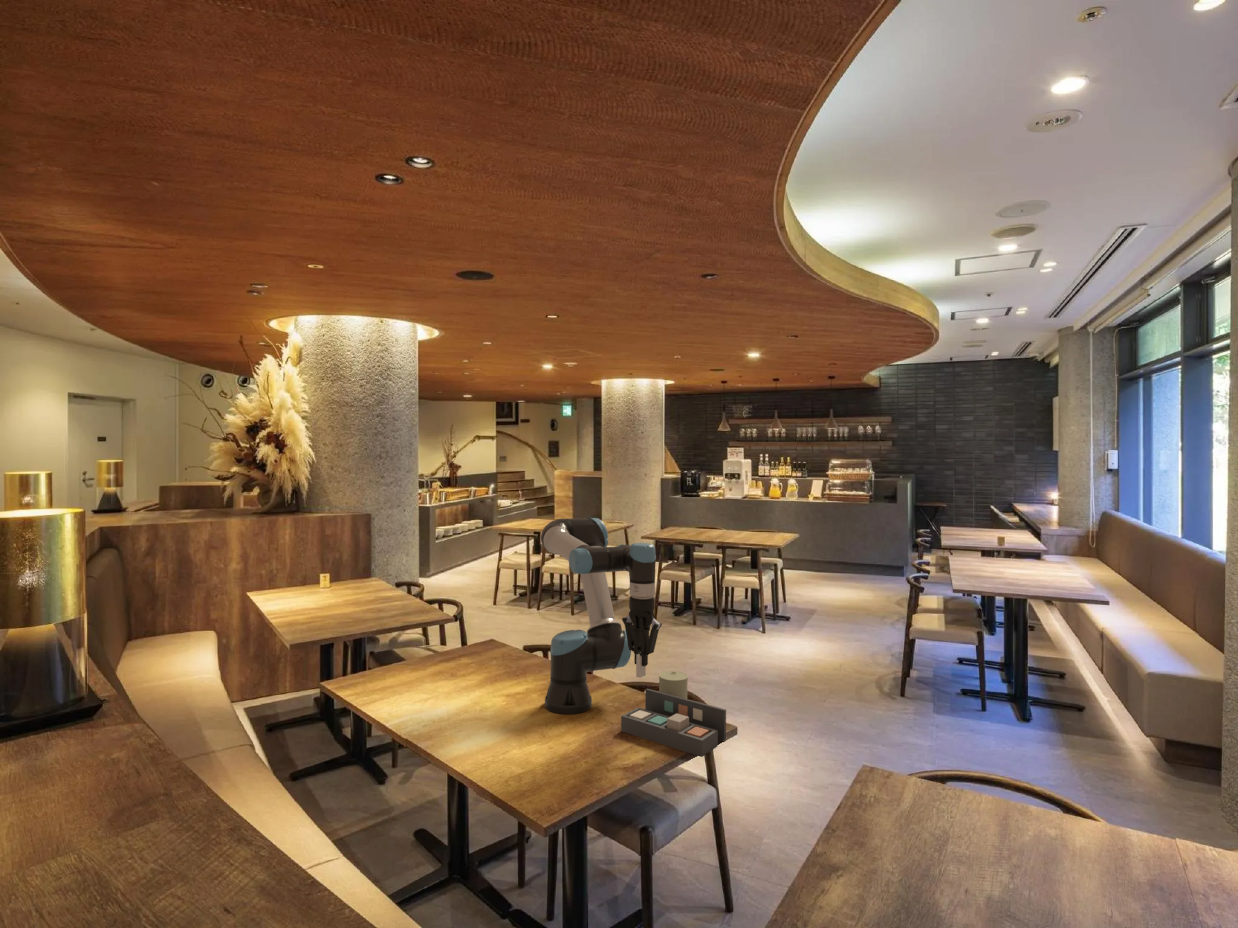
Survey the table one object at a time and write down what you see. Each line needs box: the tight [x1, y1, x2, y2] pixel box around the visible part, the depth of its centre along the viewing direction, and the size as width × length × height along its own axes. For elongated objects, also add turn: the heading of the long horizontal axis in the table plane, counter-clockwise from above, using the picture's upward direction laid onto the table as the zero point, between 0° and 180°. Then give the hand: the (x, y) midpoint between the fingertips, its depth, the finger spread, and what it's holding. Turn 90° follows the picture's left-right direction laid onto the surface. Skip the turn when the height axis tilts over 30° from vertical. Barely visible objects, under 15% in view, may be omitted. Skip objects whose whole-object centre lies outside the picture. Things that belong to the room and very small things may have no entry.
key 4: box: [687, 727, 709, 738], centre depth 190 cm, size 4×5×4 cm
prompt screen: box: [644, 688, 727, 743], centre depth 202 cm, size 27×1×9 cm, turn 53°
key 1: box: [630, 710, 651, 720], centre depth 202 cm, size 4×5×4 cm
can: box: [658, 670, 689, 699], centre depth 216 cm, size 9×9×12 cm
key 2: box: [648, 715, 667, 726], centre depth 198 cm, size 4×5×4 cm
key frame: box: [620, 707, 719, 758], centre depth 196 cm, size 27×9×4 cm, turn 53°
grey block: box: [667, 713, 689, 732], centre depth 194 cm, size 4×5×4 cm
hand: (640, 675), depth 202 cm, fingers closed
